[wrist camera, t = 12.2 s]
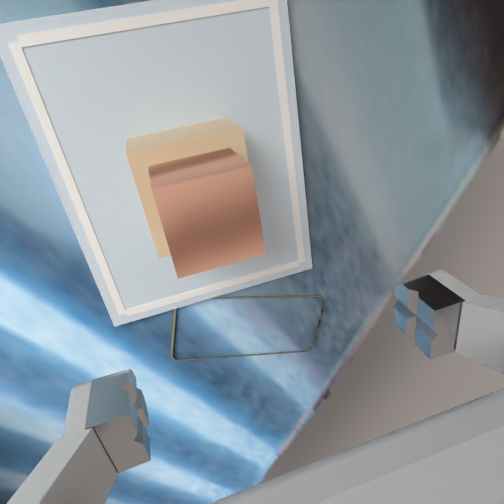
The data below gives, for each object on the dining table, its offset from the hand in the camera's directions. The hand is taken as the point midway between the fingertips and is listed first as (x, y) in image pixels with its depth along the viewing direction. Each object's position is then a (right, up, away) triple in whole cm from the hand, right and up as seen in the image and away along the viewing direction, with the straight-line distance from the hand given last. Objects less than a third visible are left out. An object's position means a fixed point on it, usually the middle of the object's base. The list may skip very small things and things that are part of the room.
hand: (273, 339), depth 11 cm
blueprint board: (-6, +9, +18) cm, 21 cm away
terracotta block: (-4, +6, +13) cm, 15 cm away
